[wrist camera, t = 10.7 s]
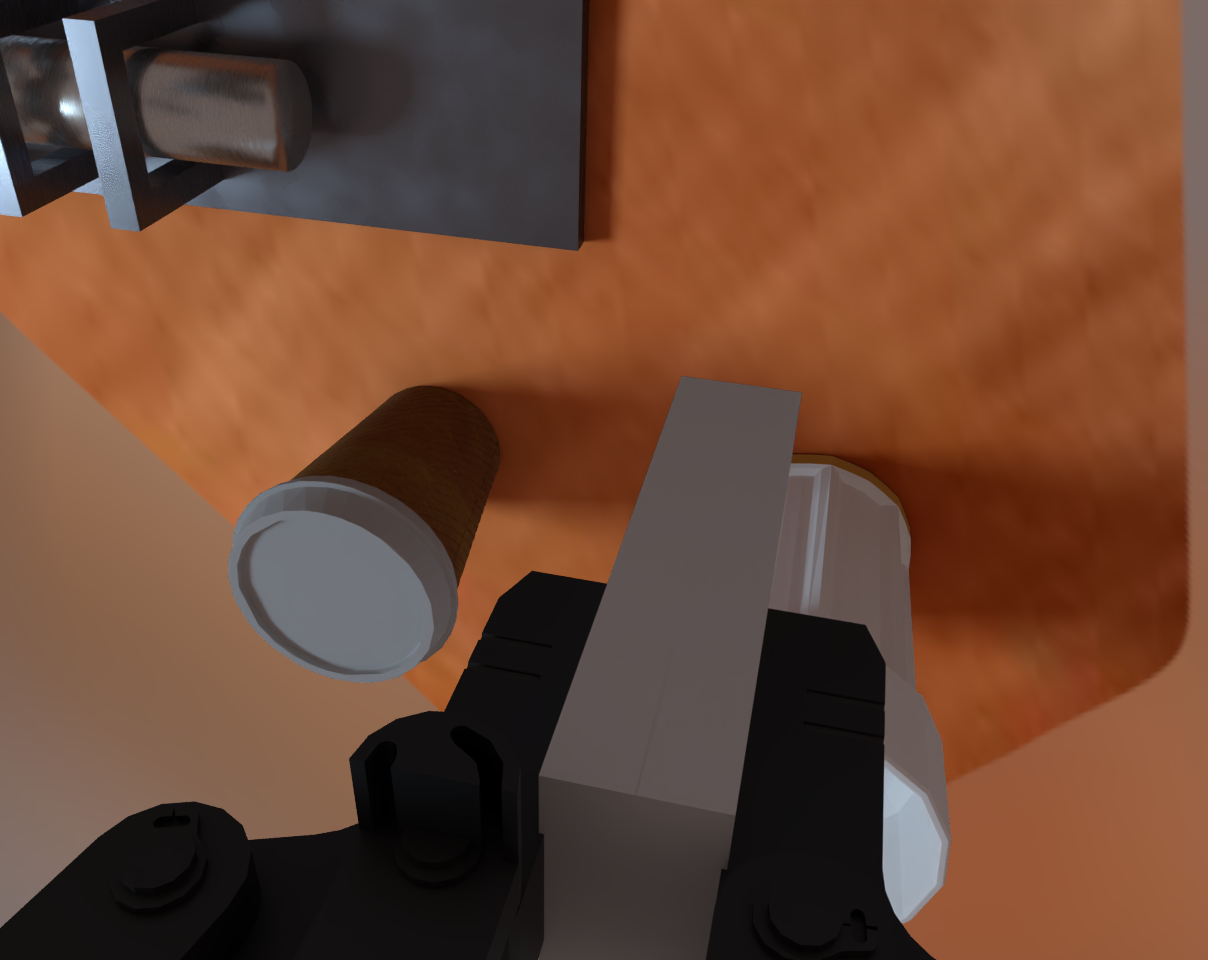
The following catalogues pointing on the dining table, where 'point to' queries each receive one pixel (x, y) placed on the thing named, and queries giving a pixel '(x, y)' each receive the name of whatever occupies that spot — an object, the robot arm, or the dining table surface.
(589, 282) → the dining table surface
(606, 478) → the dining table surface
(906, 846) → the cup
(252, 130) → the tube
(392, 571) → the disposable coffee cup
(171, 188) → the collar rail
